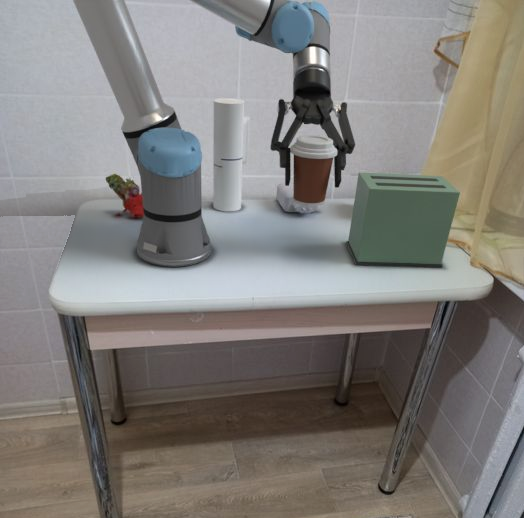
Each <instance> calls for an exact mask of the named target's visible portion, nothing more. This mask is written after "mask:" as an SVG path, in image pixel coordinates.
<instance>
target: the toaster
mask: <svg viewBox="0 0 524 518" xmlns="http://www.w3.org/2000/svg"><path fill="white" fill-rule="evenodd" d="M460 195H461V192H460V191H459V190H458V188H456V187H455V186H454V185H453V184H452V183H450V181H448V180H447V179H446V178H445V177H444V176H443V175H429V174H427V175H426V174H404V173H403V174H401V173H400V174H399V173H379V172H378V173H376V172H358V175H357V182H356V188H355V195H354V202H353V208H352V214H351V221H350V227H349V233H348V239H347V240H346V246H347V248H348V250H349V252H350V256H351V258H352V260H353V262H354V264H355V266H368V267H369V266H372V267H373V266H376V267H403V268H404V267H405V268H407V267H408V268H439V269H442V268H443V266H444V265H443V263H442V262H443V258H444V254H445V250H446V248H447V243H448V239H449V237H450V236H449V235H450V232H451V228H452V225H453V220H454V218H455V213H456V210H457V206H458V203H459V198H460Z"/></svg>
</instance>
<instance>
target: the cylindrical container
mask: <svg viewBox="0 0 524 518" xmlns="http://www.w3.org/2000/svg"><path fill="white" fill-rule="evenodd" d="M245 104H246V103H245V100H243V99H239V98H230V97H229V98H227V97H221V98H220V97H219V98H215V99H213V197H212V198H213V200H212V201H213V203H212V204H213V209H215V210H217V211H220V212H236V211H240V210H241V209H242V195H243V193H242V192H243V191H242V190H243V163H244V162H243V161H244V158H243V156H244V132H245V131H244V130H245V129H244V128H245Z"/></svg>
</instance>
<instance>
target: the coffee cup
mask: <svg viewBox="0 0 524 518" xmlns="http://www.w3.org/2000/svg"><path fill="white" fill-rule="evenodd" d="M290 154H292V155H293V183H294V196H293V201H294V202H295V203H296V204H299V205H303V206H311V207H314V206H319V207H320V206H323V205H324V204H325V203H326V197H327V192H328V186H329V181H330V176H331V173H332V172H331V171H332V166H333V162H334V157H335V156H337V149H336V148H335V147H334V145H333V140H332V139H330V138H328V136H324V135H319V134H318V135H316V134H303V135H299V136H297V137H296V141H295V142H294V143H293V144H292V145H291V146H290Z"/></svg>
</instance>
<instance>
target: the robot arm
mask: <svg viewBox="0 0 524 518" xmlns="http://www.w3.org/2000/svg"><path fill="white" fill-rule="evenodd" d="M189 1H190V2H192V3H193V4H195V5H197V6H199V7H201V8H203V9H204V10H206V11H208V12H210V13H212V14H213V15H216V16H217V17H219V18H220V19H223V20H224V21H226V22H228V23H230V24H232V25H233V26H234V29H235V32H236V34H237V35H238V37H240V38H243V39H246V40H248V41H249V42H252V41H253V42H254V43H258V44H261V45H264V46H267V47H270V48H274V49H276V50H279V51H280V52H282V53H284V54H292V71H293V72H292V80H293V81H292V92H293V93H292V99H291V101H285V100H284V99H283V98H280V99H279V100H278V102H277V118H276V121H275V125H274V129H273V133H272V137H271V141H270V150H271V152H275V151H276V152H278V155H279V168H281V169H284V183H285V186H289V184H290V183H291V179H292V178H291V176H292V175H291V172H292V171H291V167H292V166H291V165H292V164H291V152H290V151H291V147H290V145H291V143H292V142H293V140H294V138H295V136H296V134H297V133H298V131H299V129H301V126H302V125H316V126H320V128H321V129H322V130H323V131H324V132H325V133H324V134H326V137H328V138H330V139H332V140H333V145H334V147H335V148H336V149H337V156H335V157H333V162H334V163H333V169H334V170H333V172H334V188H340V185H341V183H342V171H345V168H346V165H347V155H351V154H353V152H354V150H355V148H356V142H355V138H354V134H353V131H352V128H351V124H350V120H349V117H348V113H347V112H348V103H347V102H346V101H342V102H341V104H339V103H334V101H333V100H332V83H331V81H332V80H331V75H332V74H331V25H330V17H329V12H328V9H327V7H325V6H324V4H322V3H320V2H319V1H316V0H315V1H314V0H313V1H311V2H310V1H304V2H301V3H300V2H298V1H296V0H189ZM72 2H73V4H74V6H75V8H76V10H77V11H76V12H77V13H78V15H79V17H80V20H81V22H82V24H83V27H84V29H85V31H86V33H87V37H88V38H89V41H90V43H91V45H92V47H93V50H94V52H95V54H96V56H97V59H98V61H99V63H100V65H101V68H102V70H103V73H104V75H105V77H106V79H107V81H108V84H109V86H110V88H111V90H112V91H111V92H112V93H113V95H114V98H115V100H116V102H117V104H118V107H119V109H120V111H121V114H122V117H123V121H122V124H121V127H120V130H121V132H122V135H123V137H124V139H125V141H126V144H127V146H128V148H129V150H130V152H131V155H132V158H133V160H134V163H135V164H136V167H137V170H138V173H139V176H140V187H141V193H142V201H143V214H144V217H142V222H141V225H140V228H139V229H140V230H139V233H138V237H137V240H136V251H137V253H136V254H137V255H138V257H139V259H141V260H142V261H144V262H146V263H148V264H152V265H154V266H159V267H169V268H173V267H174V268H175V267H178V268H179V267H187V266H193V265H196V264H200V263H201V262H204V261H205V260H206V259H207V258H209V257H210V256H211V253H212V244H211V239H210V236H209V234H208V230H207V228H206V225H205V223H204V218H203V215H202V214H203V213H202V210H203V208H202V206H203V205H202V204H203V203H202V162H203V161H202V160H203V153H202V150H201V149H202V148H201V143H200V139H199V138H198V137H197V135H195V134H194V133H192V132H190V131H186V130H185V129H182V127H181V124H180V121H179V119H178V116H177V114H176V111H175V108H174V107H172V106H171V105H168V104H166V103H165V102H164V100H163V97H162V95H161V92H160V90H159V87H158V84H157V82H156V79H155V76H154V74H153V71H152V68H151V66H150V63H149V60H148V59H147V55H146V53H145V51H144V48H143V45H142V43H141V40H140V37H139V35H138V32H137V29H136V26H135V24H134V22H133V19H132V16H131V14H130V12H129V8H128V5H127V3H126V1H125V0H72ZM290 110H291V111H292V113H293V114H295V117H294V119H293V121H292V123H291V125H290V126H289V128H288V130H287V132H286V133H285V135H284V137H283V139H282V141H280V136H281V133H282V129H283V125H284V121H285V116H287V114H289V111H290ZM332 112H334V115H335V118H337V122H338V126H339V130H340V133H341V135H340V133H339V131H338V129H337V127H336V126H335V124H334V122H333V120H332V117H331V113H332Z"/></svg>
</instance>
